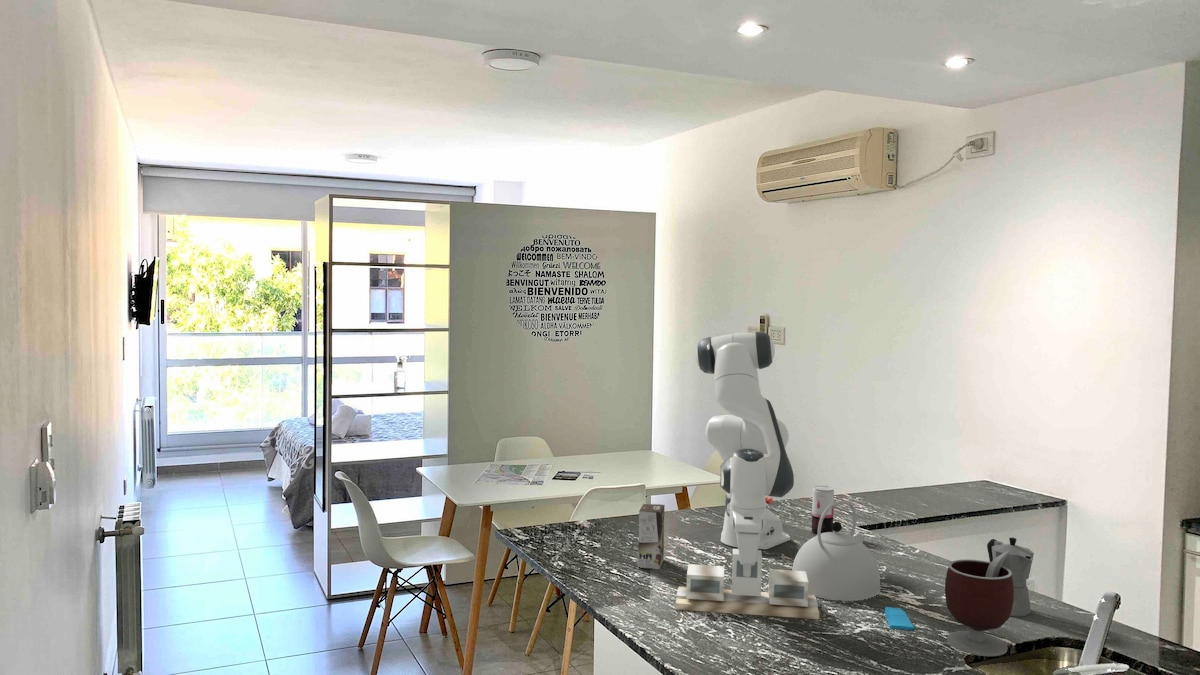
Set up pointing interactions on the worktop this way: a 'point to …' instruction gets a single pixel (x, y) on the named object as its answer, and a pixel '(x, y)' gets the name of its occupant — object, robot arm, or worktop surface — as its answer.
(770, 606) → the rail board
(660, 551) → the coffee box
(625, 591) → the worktop surface
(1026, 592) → the coffeepot
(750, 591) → the block
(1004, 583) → the mate gourd
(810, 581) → the kettle
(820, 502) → the beverage can
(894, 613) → the sponge
